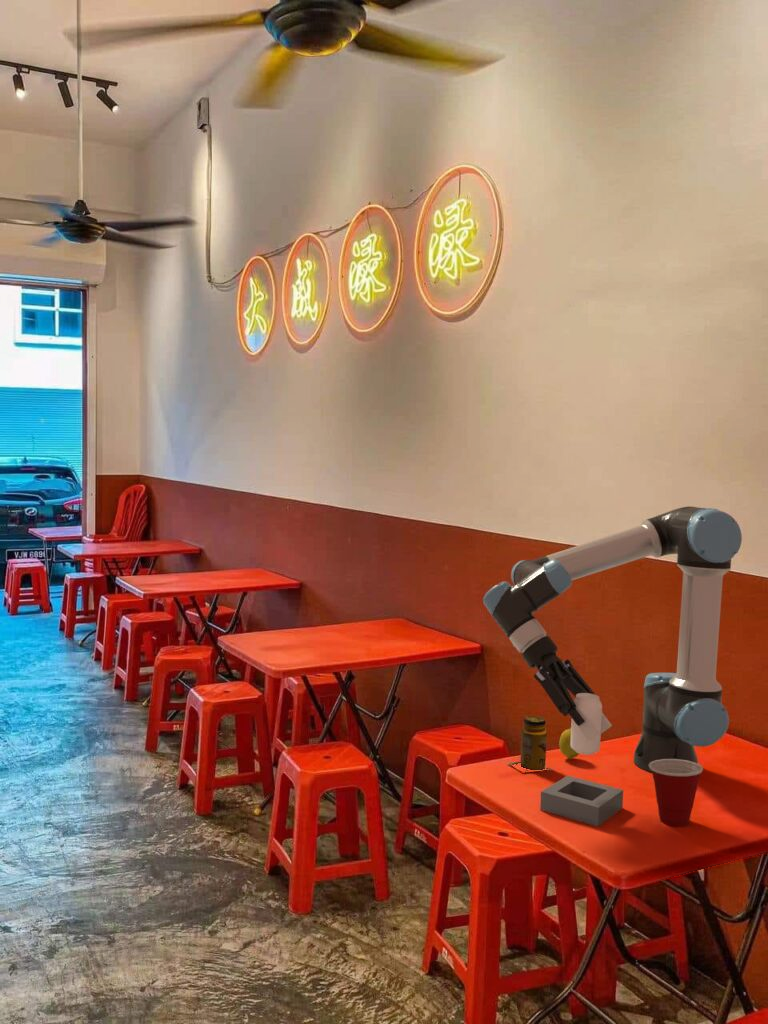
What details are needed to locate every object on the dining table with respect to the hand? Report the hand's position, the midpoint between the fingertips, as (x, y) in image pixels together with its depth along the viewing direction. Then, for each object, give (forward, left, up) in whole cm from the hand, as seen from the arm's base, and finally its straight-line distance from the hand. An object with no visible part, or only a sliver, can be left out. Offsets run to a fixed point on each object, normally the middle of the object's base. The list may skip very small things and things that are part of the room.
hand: (600, 732), depth 184 cm
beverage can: (0, -3, -5) cm, 6 cm away
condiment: (-16, -24, -18) cm, 34 cm away
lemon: (-28, -19, -18) cm, 38 cm away
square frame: (0, -3, -17) cm, 18 cm away
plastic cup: (-7, +14, -18) cm, 23 cm away
